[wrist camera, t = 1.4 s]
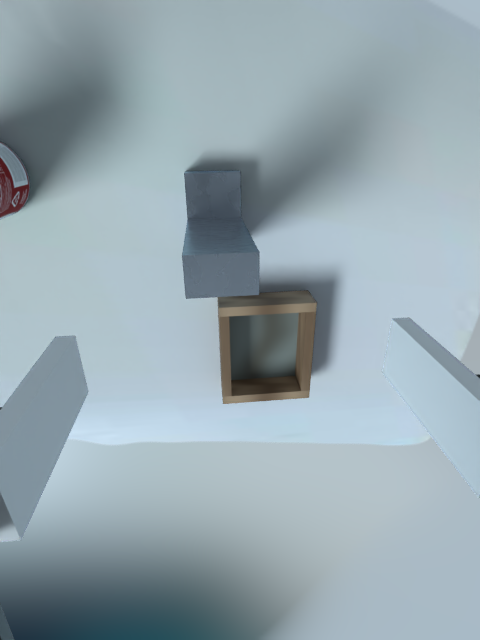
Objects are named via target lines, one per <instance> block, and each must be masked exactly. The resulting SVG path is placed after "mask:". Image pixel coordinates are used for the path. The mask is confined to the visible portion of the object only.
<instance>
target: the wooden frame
mask: <svg viewBox="0 0 480 640" xmlns="http://www.w3.org/2000/svg"><path fill="white" fill-rule="evenodd" d="M316 307H317V302H316V301H315V300H314V298H313V297H312V295H311V294H310V293H309V291H308V290H304V291H284V292H264V293H259V295H248V296H228V297H218V318H219V341H220V363H221V385H222V397H223V404H229V403H242V402H256V401H269V400H283V399H297V398H309V391H310V379H311V367H312V355H313V343H314V331H315V319H316Z"/></svg>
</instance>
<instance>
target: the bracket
mask: <svg viewBox="0 0 480 640" xmlns="http://www.w3.org/2000/svg"><path fill="white" fill-rule="evenodd" d="M184 177H185V191H186V204H187V217H188V220H187V227H186V233H185V240H184V247H183V253H182V260H183V271H184V283H185V295H186V299H188V298H208V297H228V296H248V295H259V250H258V249H257V247H256V245H255V243H254V241H253V239H252V237H251V235H250V233H249V231H248V230H247V228H246V226H245V224H244V222H243V220H242V218H241V172H240V171H239V170H228V171H186V172H185V173H184Z"/></svg>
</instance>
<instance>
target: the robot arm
mask: <svg viewBox="0 0 480 640" xmlns="http://www.w3.org/2000/svg"><path fill="white" fill-rule="evenodd" d="M382 373H383V374H384V376H385V377H386V378H387V380H388V381H389V382H390V384H391V385H392V386H393V387H394V389H395V390H396V391H397V393H398V394H399V395H400V397H401V398H402V399H403V401H404V402H405V403H406V404H407V406H408V407H409V408H410V410H411V411H412V412H413V414H414V415H415V416H416V417H417V419H418V420H419V421H420V423H421V424H422V425H423V427H424V428H425V429H426V430H427V432H428V433H429V434H430V436H431V437H432V438H433V440H434V441H435V442H436V443H437V445H438V446H439V447H440V449H441V450H442V451H443V453H444V454H445V455H446V456H447V458H448V459H449V460H450V462H451V463H452V464H453V465H454V467H455V468H456V469H457V471H458V472H459V473H460V475H461V476H462V477H463V479H464V480H465V481H466V482H467V484H468V485H469V486H470V488H471V489H472V490H473V492H474V493H475V494H476V495H477V497H478V498H480V375H475V374H474V373H473V372H472V371H470V370H469V369H468V368H467V367H466V366H465V365H464V364H463V363H461V362H460V361H459V360H458V359H457V358H456V357H454V356H453V355H452V354H451V353H450V352H449V351H447V350H446V349H445V348H444V347H443V346H442V345H440V344H439V343H438V342H437V341H436V340H435V339H434V338H432V337H431V336H430V335H429V334H428V333H427V332H425V331H424V330H423V329H422V328H421V327H420V326H418V325H417V324H416V323H415V322H414V321H413V320H412V319H410V318H394V319H392V322H391V327H390V333H389V338H388V344H387V349H386V354H385V360H384V365H383V371H382ZM87 394H88V388H87V383H86V379H85V375H84V371H83V367H82V362H81V358H80V354H79V350H78V346H77V341H76V337H75V336H59V337H55V338H54V339H53V341H52V342H51V343H50V344H49V346H48V347H47V348H46V350H45V351H44V352H43V354H42V355H41V356H40V358H39V359H38V360H37V362H36V363H35V364H34V366H33V367H32V368H31V370H30V371H29V372H28V374H27V375H26V376H25V378H24V379H23V380H22V382H21V383H20V384H19V386H18V387H17V388H16V390H15V391H14V392H13V394H12V395H11V396H10V398H9V399H8V400H7V402H6V403H5V404H4V406H3V407H0V542H6V541H17V540H21V539H22V537H23V534H24V532H25V530H26V528H27V526H28V524H29V521H30V519H31V517H32V515H33V513H34V510H35V508H36V506H37V504H38V501H39V499H40V497H41V495H42V493H43V491H44V488H45V486H46V484H47V482H48V480H49V477H50V475H51V473H52V471H53V469H54V466H55V464H56V462H57V460H58V458H59V455H60V453H61V451H62V449H63V447H64V444H65V442H66V440H67V438H68V436H69V433H70V431H71V429H72V427H73V425H74V422H75V420H76V418H77V416H78V414H79V411H80V409H81V407H82V405H83V403H84V400H85V398H86V396H87ZM0 640H14V638H13V635H12V633H11V630H10V627H9V625H8V622H7V620H6V617H5V614H4V612H3V609H2V607H1V604H0Z"/></svg>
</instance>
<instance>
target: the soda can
mask: <svg viewBox="0 0 480 640" xmlns="http://www.w3.org/2000/svg"><path fill="white" fill-rule="evenodd" d="M29 193H30V180H29V176H28V172H27V170H26V168H25V166H24V164H23V162H22V161H21V159H20V158H19V157H18V155H17V154H16V153H15V152H14V151H13V150H12V149H11V148H9V147H8V146H7V145H5V144H4V143H2V142H1V141H0V219H3V218H5V217H8V216H10V215H13V214H15V213H16V212H18V211H19V210H20V209H22V207H23V206H24V205H25V204H26V202H27V200H28V197H29Z"/></svg>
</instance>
